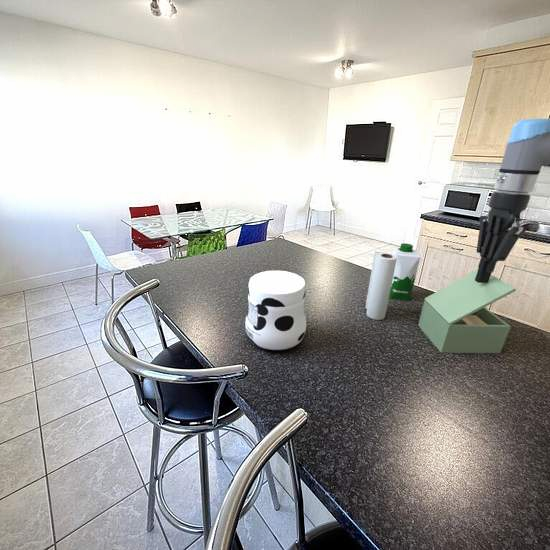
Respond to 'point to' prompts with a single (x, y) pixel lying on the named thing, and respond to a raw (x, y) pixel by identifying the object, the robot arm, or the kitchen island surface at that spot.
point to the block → (471, 321)
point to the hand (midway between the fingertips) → (481, 281)
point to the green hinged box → (464, 332)
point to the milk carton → (404, 272)
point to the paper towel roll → (380, 284)
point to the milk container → (276, 310)
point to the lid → (467, 297)
